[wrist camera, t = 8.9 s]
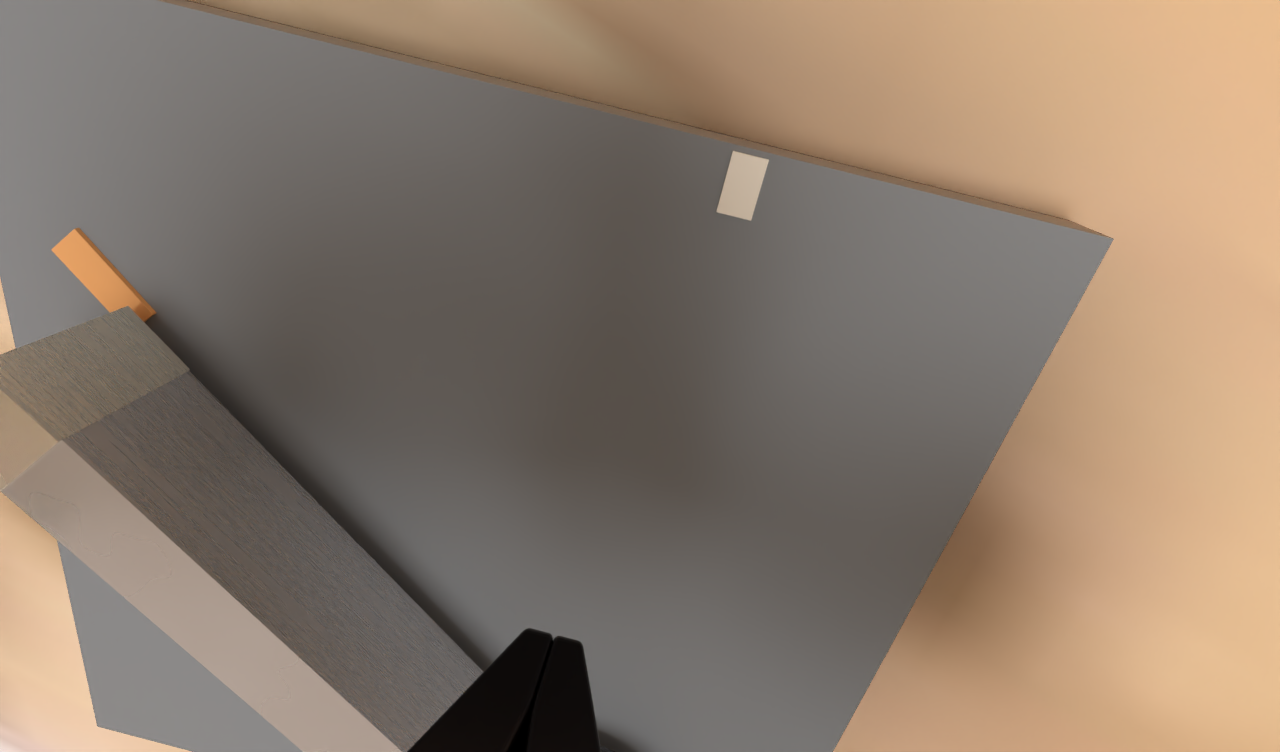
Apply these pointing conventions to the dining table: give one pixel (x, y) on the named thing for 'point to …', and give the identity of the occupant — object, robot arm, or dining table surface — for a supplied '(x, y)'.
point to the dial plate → (530, 356)
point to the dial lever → (217, 540)
